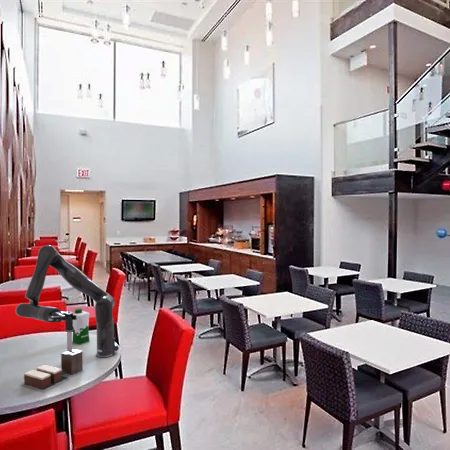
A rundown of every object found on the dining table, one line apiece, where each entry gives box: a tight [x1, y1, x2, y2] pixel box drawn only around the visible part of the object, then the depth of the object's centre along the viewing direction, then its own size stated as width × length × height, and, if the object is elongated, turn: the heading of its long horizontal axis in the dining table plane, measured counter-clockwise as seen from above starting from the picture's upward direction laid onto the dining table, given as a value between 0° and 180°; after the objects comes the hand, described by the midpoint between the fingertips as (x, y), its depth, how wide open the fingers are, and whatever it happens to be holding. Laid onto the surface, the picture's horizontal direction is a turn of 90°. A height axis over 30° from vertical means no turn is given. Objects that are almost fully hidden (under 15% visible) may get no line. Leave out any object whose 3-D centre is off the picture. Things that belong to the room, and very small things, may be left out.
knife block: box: [60, 348, 84, 376], centre depth 186 cm, size 7×7×10 cm
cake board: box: [21, 375, 69, 391], centre depth 176 cm, size 15×14×1 cm
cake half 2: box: [36, 364, 63, 383], centre depth 177 cm, size 12×4×5 cm, turn 65°
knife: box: [64, 313, 73, 352], centre depth 184 cm, size 3×2×19 cm
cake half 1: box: [23, 369, 51, 390], centre depth 172 cm, size 12×4×5 cm, turn 65°
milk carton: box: [72, 308, 90, 345], centre depth 230 cm, size 9×9×20 cm
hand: (73, 318), depth 182 cm, fingers closed on knife, 2 cm apart
